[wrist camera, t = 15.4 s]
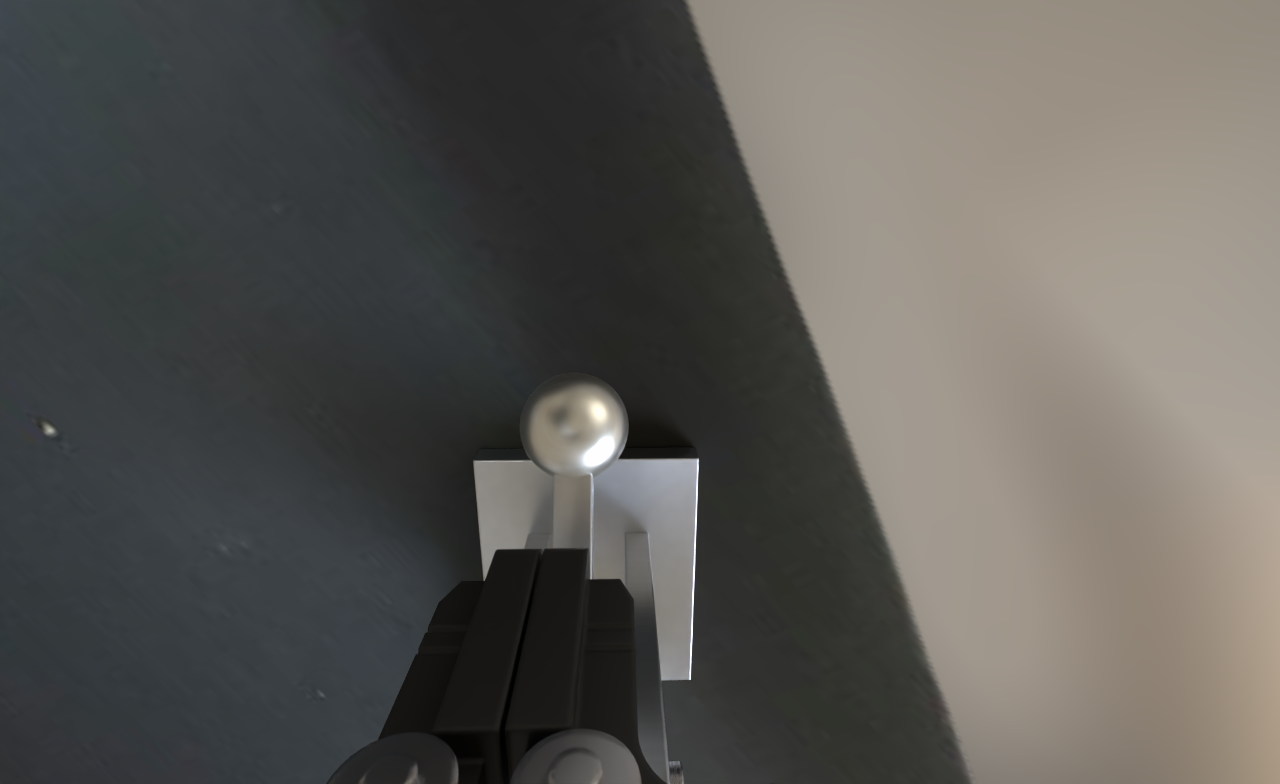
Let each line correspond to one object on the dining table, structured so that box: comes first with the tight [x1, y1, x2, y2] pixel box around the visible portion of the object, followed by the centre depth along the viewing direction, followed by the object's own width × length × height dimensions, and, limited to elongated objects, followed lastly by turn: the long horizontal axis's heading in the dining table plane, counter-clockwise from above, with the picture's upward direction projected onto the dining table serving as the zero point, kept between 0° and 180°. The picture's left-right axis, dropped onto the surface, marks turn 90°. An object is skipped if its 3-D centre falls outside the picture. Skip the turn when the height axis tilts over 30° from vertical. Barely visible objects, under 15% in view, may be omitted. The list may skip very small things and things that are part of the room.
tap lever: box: [520, 373, 629, 579], centre depth 17 cm, size 13×3×3 cm, turn 0°
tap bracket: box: [473, 447, 699, 784], centre depth 21 cm, size 11×9×13 cm
